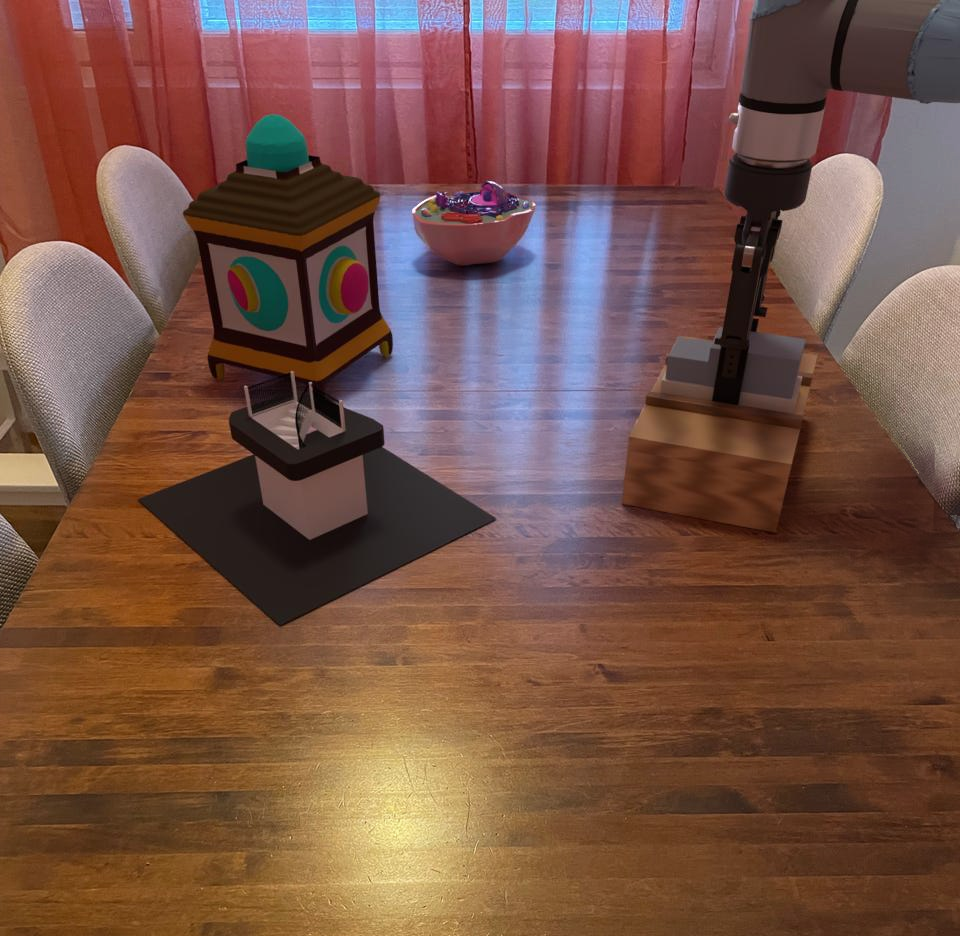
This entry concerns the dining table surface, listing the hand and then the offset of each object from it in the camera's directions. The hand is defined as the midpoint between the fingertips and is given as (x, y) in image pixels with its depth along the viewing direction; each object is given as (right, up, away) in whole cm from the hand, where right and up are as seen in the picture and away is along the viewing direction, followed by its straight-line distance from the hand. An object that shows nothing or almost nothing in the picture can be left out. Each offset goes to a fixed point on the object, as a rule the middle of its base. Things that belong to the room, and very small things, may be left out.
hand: (730, 388), depth 105 cm
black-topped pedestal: (-44, -13, -2) cm, 46 cm away
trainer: (0, 0, 0) cm, 0 cm away
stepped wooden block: (0, -6, +5) cm, 8 cm away
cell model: (-28, +35, +54) cm, 70 cm away
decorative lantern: (-50, +9, +24) cm, 56 cm away
